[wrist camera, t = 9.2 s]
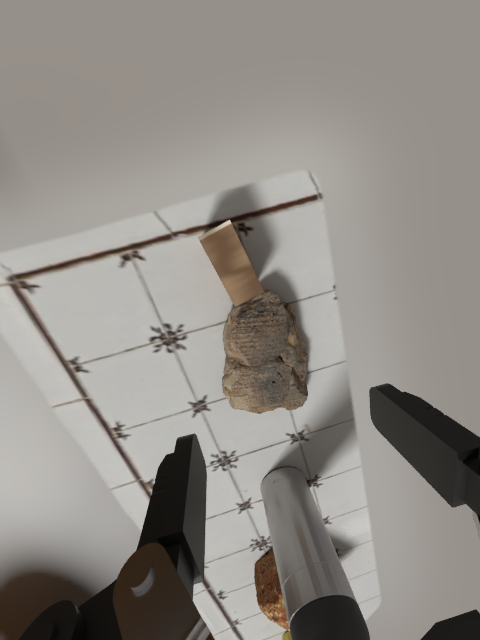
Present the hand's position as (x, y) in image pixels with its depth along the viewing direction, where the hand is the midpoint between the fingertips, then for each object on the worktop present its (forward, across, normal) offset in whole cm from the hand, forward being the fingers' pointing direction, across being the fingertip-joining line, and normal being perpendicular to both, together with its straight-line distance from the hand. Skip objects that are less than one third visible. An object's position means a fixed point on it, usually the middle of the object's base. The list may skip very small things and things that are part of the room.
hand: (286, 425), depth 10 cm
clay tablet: (+25, -3, +8) cm, 27 cm away
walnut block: (+22, -2, -2) cm, 22 cm away
